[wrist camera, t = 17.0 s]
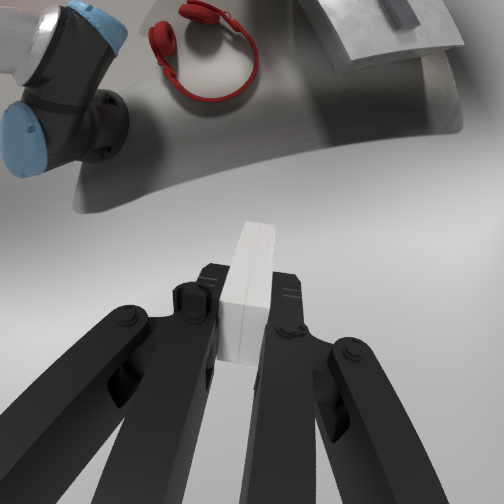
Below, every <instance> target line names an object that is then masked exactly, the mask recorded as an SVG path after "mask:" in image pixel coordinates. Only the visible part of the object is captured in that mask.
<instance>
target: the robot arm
mask: <svg viewBox="0 0 504 504" xmlns="http://www.w3.org/2000/svg"><path fill="white" fill-rule="evenodd" d="M127 33H128V32H127V29H126V27H125V26H124V25H123V24H122V23H121V22H120V21H118V20H117V19H115V18H114V17H112V16H111V15H109V14H108V13H106V12H104V11H102V10H100V9H98V8H95V7H93V6H92V5H89V4H88V3H86V2H83V1H80V0H71V1H70V2H69V3H67V4H66V6H65V7H63V6H59V5H53V6H51V7H50V8H48V9H46V10H44V11H42V12H35V11H30V10H25V9H19V8H12V7H4V6H0V73H1V74H11V75H12V76H13V77H14V79H15V81H16V83H17V85H18V86H24V87H25V89H24V92H23V94H22V97H21V100H20V101H16V102H14V103H13V104H11V105H9V106H8V108H7V109H6V110H5V111H4V113H3V115H2V117H1V120H0V152H1V156H2V159H3V161H4V164H5V165H6V167H7V169H8V170H9V171H10V172H11V173H12V174H13V175H14V176H16V177H19V178H27V177H31V176H34V175H40V174H42V173H44V172H46V171H49V170H51V169H54V168H57V167H59V166H62V165H64V164H67V163H70V162H73V161H75V160H76V161H81V162H86V163H98V162H101V161H104V160H107V159H109V158H111V157H112V156H114V155H115V154H116V153H117V152H118V151H119V150H120V148H121V147H122V145H123V143H124V141H125V139H126V136H127V133H128V127H129V115H128V110H127V107H126V104H125V102H124V101H123V99H122V98H121V97H120V96H119V95H118V94H117V93H115V92H113V91H111V90H105V89H97V88H98V86H99V85H100V83H101V81H102V79H103V77H104V75H105V74H106V72H107V70H108V68H109V66H110V65H111V63H112V61H113V60H114V58H116V57H117V56H118V52H119V50H120V48H121V46H122V45H123V43H124V42H125V40H126V38H127V35H128V34H127ZM274 241H275V225H272V224H264V223H257V222H249V221H246V222H245V225H244V228H243V230H242V233H241V236H240V239H239V242H238V246H237V248H236V251H235V254H234V257H233V260H232V263H231V266H226V265H219V264H213V263H210V264H208V265H207V266H206V267H204V268H203V269H202V271H201V273H200V275H199V277H198V279H197V281H196V282H188V283H183V284H180V285H178V286H177V287H176V288H175V289H174V290H173V305H174V313H173V315H170V316H166V317H148V315H147V313H146V311H145V310H144V309H142V308H141V307H139V306H135V305H124V306H121V307H118V308H116V309H114V310H113V311H112V312H110V313H109V314H108V315H107V316H106V317H104V318H103V319H102V320H101V321H100V322H99V323H98V324H96V325H95V326H94V327H93V328H92V329H91V330H90V331H88V332H87V333H86V334H85V335H84V336H83V337H82V338H81V339H80V340H78V341H77V342H76V343H75V344H74V345H73V346H72V347H71V348H69V349H68V350H67V351H66V352H65V353H64V354H63V355H62V356H61V357H60V358H58V359H57V360H56V361H55V362H54V363H53V364H52V365H51V366H50V367H49V368H48V369H47V370H46V371H45V372H44V373H42V374H41V375H40V376H39V377H38V378H37V379H36V380H35V381H34V382H33V383H32V384H31V385H30V386H29V387H28V388H27V389H26V390H25V391H24V392H23V393H22V394H21V395H20V396H19V397H18V398H17V399H16V400H15V401H14V402H13V403H12V404H11V405H10V406H9V407H8V408H7V409H6V410H5V411H4V412H3V413H2V414H1V415H0V504H56V503H57V501H58V500H59V499H60V498H61V496H62V495H63V494H64V493H65V491H66V490H67V489H68V488H69V486H70V485H71V484H72V483H73V481H74V480H75V479H76V477H77V476H78V475H79V474H80V473H81V471H82V470H83V469H84V468H85V466H86V465H87V464H88V463H89V461H90V460H91V459H92V458H93V456H94V455H95V454H96V453H97V451H98V450H99V449H100V447H101V446H102V445H103V444H104V442H105V441H106V440H107V439H108V438H109V436H110V435H111V434H112V433H113V431H114V430H115V429H116V427H117V426H118V425H119V424H120V422H121V421H122V420H123V419H124V417H125V419H124V421H123V424H122V426H121V428H120V430H119V433H118V435H117V438H116V440H115V442H114V445H113V447H112V450H111V452H110V455H109V457H108V460H107V462H106V465H105V467H104V470H103V473H102V475H101V478H100V480H99V483H98V486H97V488H96V491H95V494H94V497H93V499H92V502H91V504H182V500H183V496H184V492H185V488H186V484H187V479H188V476H189V472H190V467H191V463H192V459H193V455H194V451H195V447H196V443H197V438H198V435H199V431H200V427H201V423H202V419H203V415H204V410H205V406H206V402H207V398H208V394H209V390H210V386H211V382H212V378H213V375H214V363H215V358H216V355H217V360H222V361H227V362H234V363H240V364H246V365H253V366H258V371H257V376H256V381H255V385H254V390H255V391H254V399H253V407H252V414H251V422H250V430H249V437H248V445H247V452H246V459H245V466H244V473H243V480H242V487H241V494H240V501H239V504H316V440H315V418H316V421H317V425H318V428H319V430H320V434H321V437H322V440H323V443H324V446H325V449H326V452H327V455H328V459H329V462H330V465H331V468H332V471H333V474H334V477H335V480H336V483H337V487H338V490H339V493H340V496H341V499H342V502H343V504H449V502H448V500H447V497H446V495H445V493H444V490H443V488H442V486H441V483H440V481H439V479H438V477H437V474H436V472H435V470H434V468H433V466H432V463H431V461H430V459H429V457H428V455H427V453H426V451H425V449H424V447H423V445H422V442H421V440H420V438H419V436H418V434H417V433H416V430H415V428H414V426H413V425H412V423H411V421H410V419H409V417H408V415H407V413H406V411H405V409H404V407H403V405H402V403H401V401H400V400H399V398H398V396H397V394H396V392H395V390H394V389H393V387H392V385H391V383H390V381H389V379H388V378H387V376H386V374H385V372H384V370H383V369H382V367H381V365H380V363H379V362H378V360H377V359H376V357H375V355H374V353H373V351H372V350H371V348H370V347H369V346H368V345H367V344H366V343H364V342H363V341H362V340H360V339H356V338H353V337H344V338H341V339H338V340H337V341H336V342H335V343H334V344H331V343H328V342H325V341H322V340H320V339H317V338H316V337H314V336H313V335H311V334H310V332H309V330H308V327H307V326H306V325H305V324H304V316H303V305H302V292H301V282H300V281H299V279H298V278H297V277H296V275H295V274H287V273H281V272H273V257H274Z"/></svg>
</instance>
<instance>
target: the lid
mask: <svg viewBox="0 0 504 504" xmlns="http://www.w3.org/2000/svg"><path fill="white" fill-rule="evenodd" d="M315 1H316V3H317V5H318V6H319V8H320V9H321V11H322V13H323V14H324V16H325V18H326V19H327V21H328V23H329V25H330V26H331V28H332V30H333V32H334V34H335V35H336V37H337V39H338V41H339V43H340V45H341V47H342V49H343V51H344V53H345V55H346V57H347V59H348V61H349V62H352V61H356V60H360V59H365V58H370V57H374V56H379V55H385V54H390V53H396V52H403V51H410V50H418V49H427V48H438V47H454V46H463V45H465V44H464V42H463V40H462V38H461V35H460V33H459V31H458V29H457V27H456V25H455V23H454V21H453V19H452V17H451V15H450V13H449V12H448V10H447V8H446V6H445V4H444V3H443V1H442V0H315Z"/></svg>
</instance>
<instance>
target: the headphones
mask: <svg viewBox="0 0 504 504" xmlns="http://www.w3.org/2000/svg"><path fill="white" fill-rule="evenodd" d="M178 12H179V14H180V15H181V16H182V17H184V18H187V19H189V20H192V21H195V22H199V23H203V24H207V25H214V24H216V23H217V22H218V21H219V19H220V16H222V17H223V18H224V20H225V21H226V22H227V23H228V24H229V25H230V26H231V27H232V28H233V30H234V31H236V32H241V33H242V34H243V35H244V36H245V38H246V39H247V40H248V41H249V43H250V45H251V47H252V49H253V52H254V58H255V59H254V68H253V71H252V74H251V76H250V77H249V79H248V81H247V82H246V83H245V84H244V85H243V86H242V87H241V88H240V89H238V90H237V91H235V92H233V93H232V94H229V95H227V96H224V97H220V98H203V97H199V96H196V95H194V94H192V93H190V92H189V91H187V90H186V89H185V88H184V87H183V86H182V85H181V84H180V82H179V81H178V80H177V79H176V78H175V77H176V72H175V71H174V70H173V69H172V68H171V67H170V65H169V64H168V63H167V62H166V61H165V60H164V59H163V56H164V57H167V56H171V55H173V54H174V53H175V51H176V38H175V34H174V31H173V29H172V27H171V25H170V24H169V23H168V22H167V21H161V22H158V23H156V24H155V26H154V27H151V28H150V29H149V42H150V45H151V48H152V50H153V52H154V54H155V57H156V58H157V60H158V64H159V62H160V63H161V64H159V65H160V66H163V67H164V68H165V69H164V70H163V72H164V74H165V75H166V76H167V77H168V78H169V80H170V81H171V82H172V83H173V84H174V85H175V87H176V88H177V89H178V90H179V91H180V92H181V93H183V94H184V95H186V96H188V97H189V98H191V99H194V100H197V101H202V102H218V101H223V100H227V99H229V98H232V97H234V96H236V95H238V94H239V93H241V92H242V91H243V90H245V89H246V88H247V87H248V85H249V84H250V83H251V82H252V80H253V79H254V77H255V75H256V72H257V68H258V60H259V58H258V51H257V48H256V44H255V43H254V41H253V39H252V38H251V37H250V35H249V34H248V33H247V32H246V31H245V30H244V29H243V27H242V26H241V25H240V24H239V23H238V22H237V21H236V20H235V19H234V20H232V21H231V20H230V19H231V14H230V13H229V12H223V11H221V10H219V9H217V8H215V7H214V6H212V5H210V4H207V3H205V2H202V1H198V0H187V4H183V5H181V7H180V8H179V11H178ZM224 13H229V14H230V19H229V18H228V17H227V16H226V15H225V14H224ZM219 15H220V16H219Z"/></svg>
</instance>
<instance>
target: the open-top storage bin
mask: <svg viewBox="0 0 504 504" xmlns="http://www.w3.org/2000/svg"><path fill="white" fill-rule="evenodd" d="M297 2H298V4H299V5H300V7H301V8H302V10H303V12H304V13H305V15H306V17H307V18H308V20H309V22H310V23H311V25H312V27H313V29H314V30H315V32H316V34H317V36H318V38H319V40H320V41H321V43H322V45H323V47H324V49H325V51H326V53H327V55H328V57H329V59H330V61H331V63H332V65H333V67H334V69H335V71H336V74H337V75H339V74H343V73H346V72H350V71H354V70H358V69H363V68H367V67H371V66H376V65H381V64H386V63H391V62H396V61H402V60H408V59H415V58H422V57H424V56H427V55H430V54H433V53H436V52H440V51H443V50H446V49H449V48H453V47H438V48H427V49H418V50H410V51H403V52H396V53H390V54H385V55H379V56H374V57H370V58H365V59H360V60H356V61H352V62H349V61H348V59H347V57H346V55H345V53H344V51H343V49H342V47H341V45H340V43H339V41H338V39H337V37H336V35H335V34H334V32H333V30H332V28H331V26H330V25H329V23H328V21H327V19H326V18H325V16H324V14H323V13H322V11H321V9H320V8H319V6H318V5H317V3H316V1H315V0H297ZM454 47H455V46H454Z"/></svg>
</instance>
